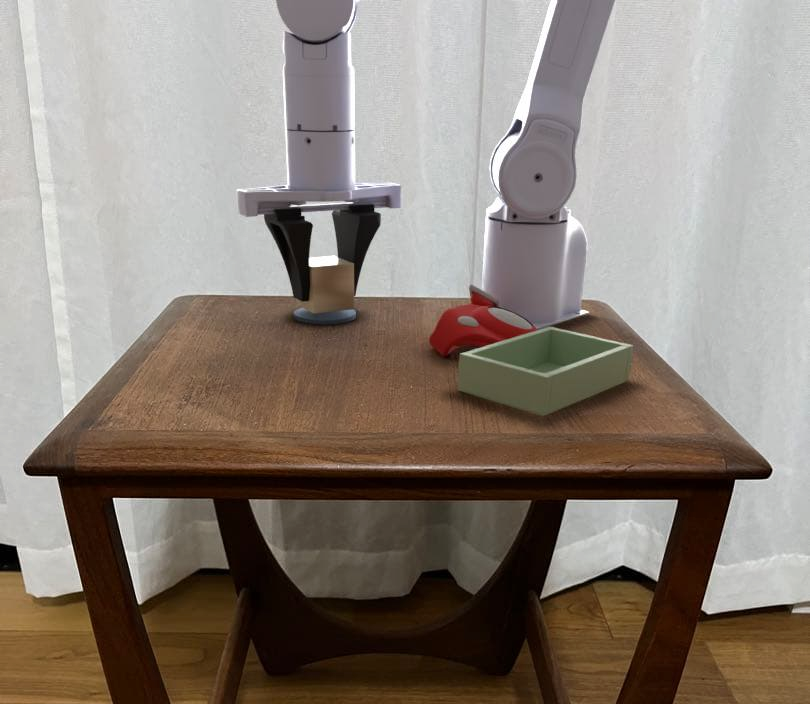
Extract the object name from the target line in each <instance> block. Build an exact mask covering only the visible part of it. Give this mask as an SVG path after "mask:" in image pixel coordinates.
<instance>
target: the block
mask: <svg viewBox="0 0 810 704" xmlns="http://www.w3.org/2000/svg"><path fill="white" fill-rule="evenodd" d="M309 275H310V293H309V301H304V302H302V301H300V300H298V299H296V298H295V304H296V305H297V306H299V307H300V308H304V309H306V310H308V311H310V312H312V313H314V314H315V313H324V312H333V311H342V310H351V309H353V310H354V309H355V296H354V263H351V262H349V261H346V260H344V259H341V258H339V257H338V256H336V255H327V256H313V257H309Z"/></svg>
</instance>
